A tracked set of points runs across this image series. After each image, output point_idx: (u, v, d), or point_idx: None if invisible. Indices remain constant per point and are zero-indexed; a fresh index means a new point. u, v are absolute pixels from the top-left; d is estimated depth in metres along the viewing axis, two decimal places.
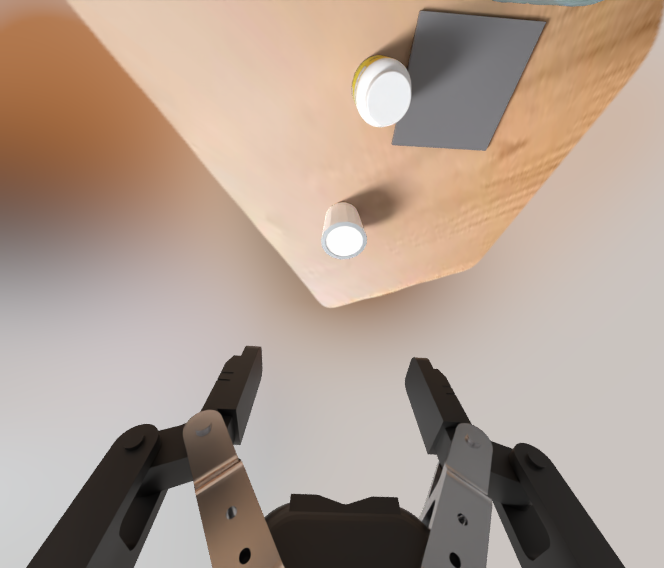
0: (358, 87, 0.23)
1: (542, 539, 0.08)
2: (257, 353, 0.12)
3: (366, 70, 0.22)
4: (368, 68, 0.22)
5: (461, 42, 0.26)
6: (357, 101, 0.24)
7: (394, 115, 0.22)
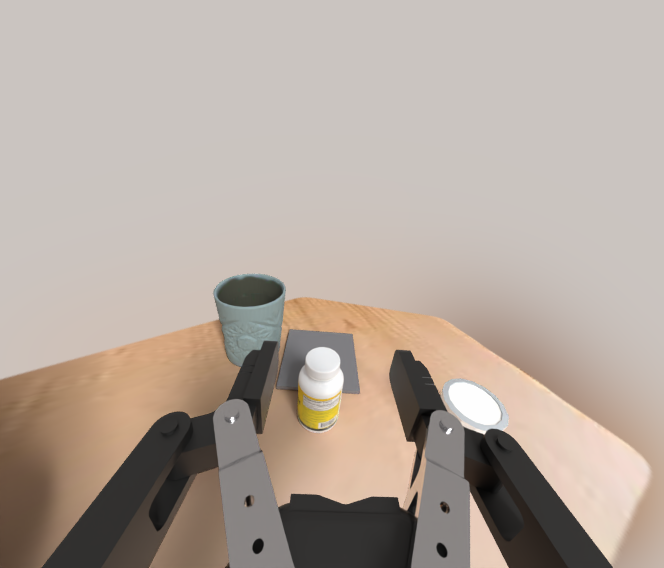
0: (316, 394, 0.26)
1: (514, 517, 0.08)
2: (275, 347, 0.12)
3: (305, 389, 0.27)
4: (304, 388, 0.27)
5: (294, 360, 0.39)
6: (326, 394, 0.26)
7: (332, 354, 0.28)
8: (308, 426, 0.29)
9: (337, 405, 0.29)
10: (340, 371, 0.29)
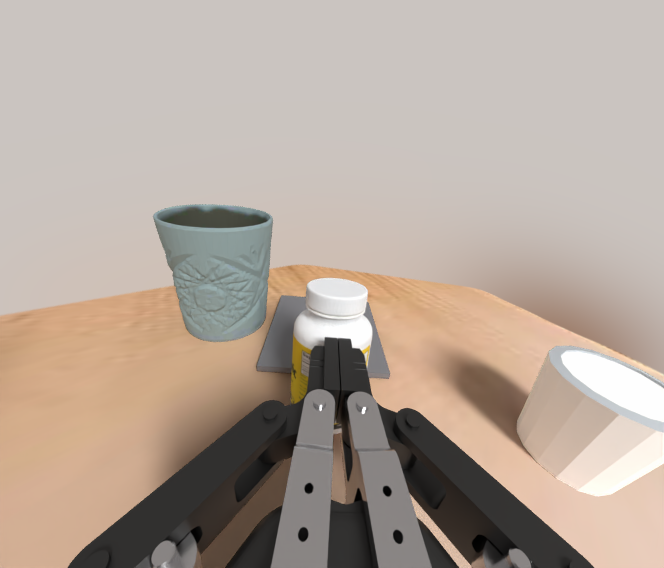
0: None
1: (432, 478, 0.09)
2: (337, 343, 0.13)
3: (306, 339, 0.15)
4: (304, 337, 0.15)
5: (287, 332, 0.26)
6: None
7: (352, 283, 0.16)
8: None
9: None
10: (365, 318, 0.17)
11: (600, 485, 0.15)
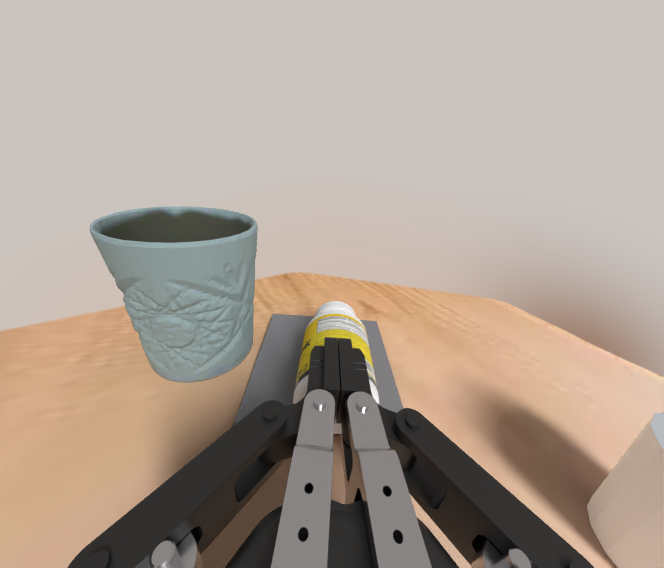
0: (337, 311, 0.20)
1: (432, 478, 0.09)
2: (337, 343, 0.13)
3: (321, 313, 0.20)
4: (319, 314, 0.20)
5: (277, 367, 0.21)
6: (350, 313, 0.20)
7: None
8: None
9: (369, 350, 0.18)
10: None
11: None
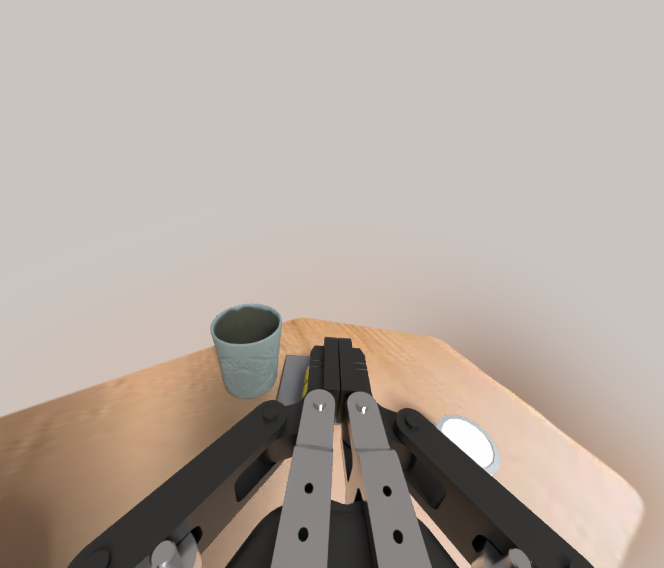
0: None
1: (432, 478, 0.09)
2: (337, 343, 0.13)
3: None
4: None
5: (291, 390, 0.39)
6: None
7: None
8: None
9: None
10: None
11: None
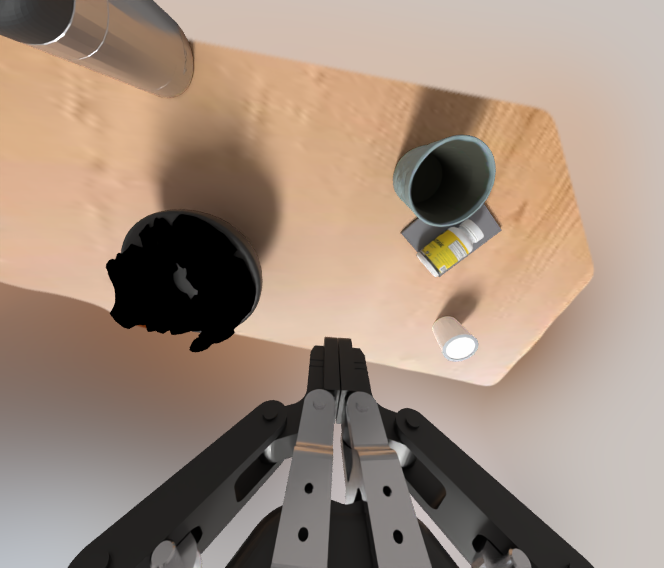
0: (467, 243, 0.38)
1: (432, 478, 0.09)
2: (337, 343, 0.13)
3: (462, 237, 0.38)
4: (461, 236, 0.38)
5: None
6: (470, 247, 0.39)
7: None
8: (434, 264, 0.40)
9: (455, 262, 0.41)
10: None
11: None
